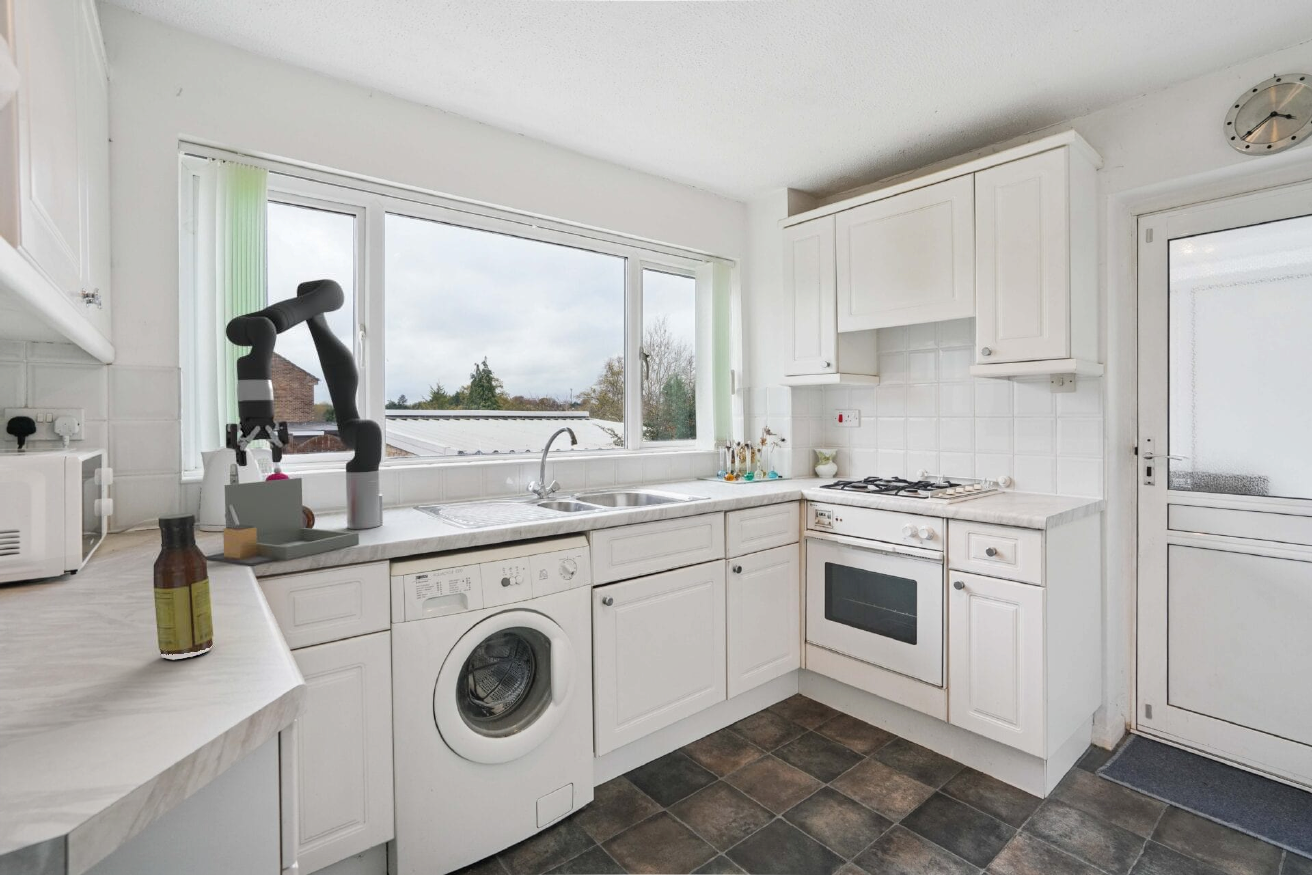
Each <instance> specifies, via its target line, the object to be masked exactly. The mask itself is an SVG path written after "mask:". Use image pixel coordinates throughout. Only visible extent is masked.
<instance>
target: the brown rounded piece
mask: <svg viewBox="0 0 1312 875" xmlns="http://www.w3.org/2000/svg"><path fill="white" fill-rule="evenodd" d="M302 507H303V528H311V529H314V526H315V523H316V517H315V515H314V512H313V511H312V510H311V509H310V508H309V507H308V506H306V505H302Z"/></svg>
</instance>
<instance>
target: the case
mask: <svg viewBox="0 0 1312 875" xmlns="http://www.w3.org/2000/svg"><path fill="white" fill-rule="evenodd" d="M302 478H303V477H296V478H295V477H294V478H289V479H283V480H272V481H265V480H263V481H254V482H242V483H233V484H231V483H230V484H225V485H224V510H225V511H224V512H225V528H226V527H227V526H233V525H250V526H254V527H256V531H257V555H259V556H267V557H275V558H277V560H283V561H290V560H294V559H298V558H303V557H308V556H312V555H316V554H321V553H326V552H330V550H331V551H333V550H332V549H335V550H340V549H344V548H347V547H346V546H349V547H354V546H358V545H359V544H360V540H359V536H360V535H359V533H360V532H350V531H340V530H330V529H320V528H312V529H311V528H303V507H302V506H303V479H302ZM301 540H303V541H304V540H305V541H308V542H303V543H296V544H292V545H282V544H285V543H291V542H296V541H301ZM312 540H313V541H312ZM357 544H358V545H357ZM343 547H344V548H343ZM339 548H340V549H339Z"/></svg>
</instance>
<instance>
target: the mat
mask: <svg viewBox="0 0 1312 875" xmlns="http://www.w3.org/2000/svg"><path fill="white" fill-rule="evenodd" d="M205 557H206V561H207V560H208V561H213V562H214V561H216V562H221V563H231V564H235V565H243V566H244V565H245V566H250V567H253V566H257V565H261V564H267V563H271V562H276V561H278V559H277V558H275V557H267V556H259V555H257V557H252V558H247V559H242V560H237V559H230V558H224V552H221V553H216V554H210V555H205Z"/></svg>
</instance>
